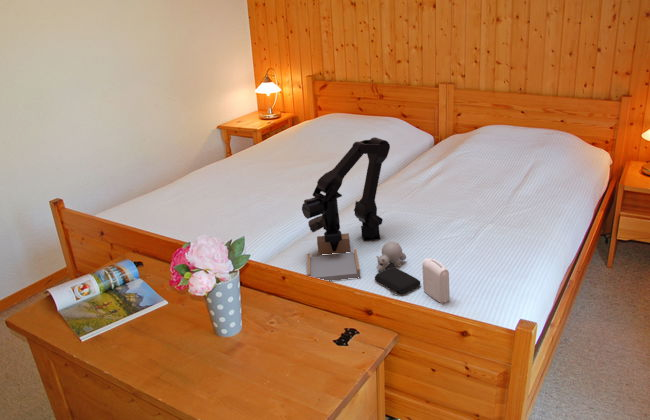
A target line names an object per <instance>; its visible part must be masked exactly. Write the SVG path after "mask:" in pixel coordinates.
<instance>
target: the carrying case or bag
mask: <svg viewBox="0 0 650 420" xmlns="http://www.w3.org/2000/svg"><path fill="white" fill-rule="evenodd" d="M374 280H375V282H376V283H378V284H380V285H381V286H384V287H386V288H387V289H388V290H389V292H390V293H395V294H398V295H401V296H403V295H406V294H408V293H410V292H412V291H414V290H416V289H418V288H420V286H421V281H420V280H419V279H418V278H416V277H414V276H413V275H410V274H409V273H407V272H405V271H403V270H401V269H399V268H397V267H396V266H395V267H394V266H392V267H388V268H386V269H385V270H384V271H379V272H378V273H377V274H376V275H375V276H374Z"/></svg>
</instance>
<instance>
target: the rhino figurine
mask: <svg viewBox="0 0 650 420" xmlns="http://www.w3.org/2000/svg"><path fill="white" fill-rule="evenodd" d="M375 258H377V264H378V265H376V269H377V270H378V271H379V272H382V271H384V270H386V269H387V267H388V266H389V263H391V264H393V265H394V266H395V267H396V266H397V267H400V266H401V265H402V262H401V261H403V262H404V261H405V260H406V259H407V255H406V253H405V252H403V248H402V247H401V245H400V243H399V242H397V241H388V242H386V243H385V244H384V245H383V246H382V248H381V255H380V256H378V255H376V256H375Z"/></svg>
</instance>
